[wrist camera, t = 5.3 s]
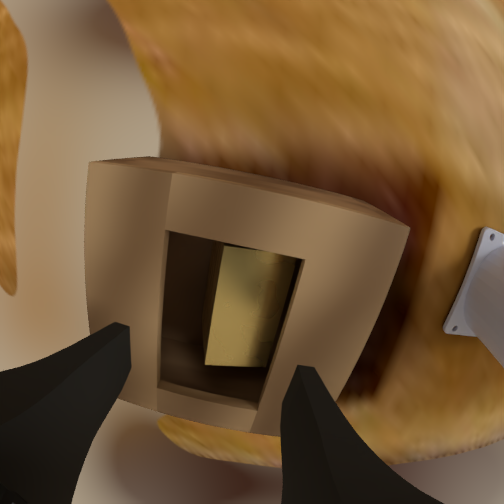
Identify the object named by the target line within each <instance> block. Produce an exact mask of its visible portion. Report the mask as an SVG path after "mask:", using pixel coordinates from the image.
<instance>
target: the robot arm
mask: <svg viewBox="0 0 504 504" xmlns="http://www.w3.org/2000/svg"><path fill="white" fill-rule="evenodd" d="M491 234H492V235H491ZM490 235H491V238H490ZM454 326H455V327H454ZM453 327H454V328H453ZM443 330H444V332H445V333H447V334H455V335H465V336H475V337H478V338H479V339H480V340H481V342H482V343H483V344H484V345H485V346H486V347H487V349H488V350H489V351H490V352H491V353H492V355H493V356H494V357H495V358H496V359H497V361H498V362H499V363H500V364H501V365H502V367H503V368H504V234H502V233H500V232H498V231H496V230H493V229H491V228H489V227H484V228H483V229H482V231H481V233H480V236H479V239H478V242H477V246H476V249H475V251H474V254H473V257H472V260H471V263H470V265H469V268H468V271H467V273H466V276H465V278H464V281H463V283H462V286H461V288H460V291H459V293H458V295H457V297H456V300H455V302H454V304H453V306H452V309H451V311H450V313H449V315H448V317H447V319H446V321H445V323H444V325H443ZM131 368H132V364H131V346H130V326H127V325H124V324H121V323H118V322H113V323H111V324H109V325H108V326H106V327H104V328H102V329H100V330H99V331H97V332H95V333H93V334H91V335H90V336H88V337H86V338H84V339H82V340H80V341H78V342H77V343H75V344H73V345H71V346H69V347H67V348H65V349H63V350H61V351H59V352H56V353H54V354H52V355H50V356H48V357H46V358H43V359H41V360H38V361H36V362H33V363H30V364H27V365H24V366H21V367H17V368H13V369H9V370H5V371H2V372H0V504H71V502H72V498H73V495H74V491H75V488H76V484H77V481H78V478H79V475H80V472H81V469H82V466H83V464H84V461H85V458H86V456H87V453H88V451H89V448H90V446H91V443H92V441H93V439H94V437H95V435H96V433H97V431H98V430H99V428H100V426H101V424H102V422H103V421H104V419H105V418H106V416H107V414H108V413H109V411H110V409H111V408H112V406H113V404H114V403H115V401H116V399H117V398H118V396H119V394H120V393H121V391H122V389H123V387H124V385H125V382H126V380H127V378H128V375H129V373H130V370H131ZM280 435H281V453H282V472H283V490H282V503H281V504H443V503H442V502H440V501H438V500H436V499H434V498H432V497H431V496H429V495H427V494H425V493H424V492H422V491H420V490H419V489H417V488H416V487H414V486H413V485H411V484H410V483H409V482H407V481H406V480H404V479H403V478H402V477H401V476H399V475H398V474H397V473H396V472H394V471H393V470H392V469H391V468H390V467H389V466H388V465H386V464H385V463H384V462H383V461H382V460H381V459H380V458H379V457H378V456H377V455H376V454H375V453H374V452H373V451H372V450H371V449H370V448H369V447H368V445H367V444H366V443H365V442H364V441H363V440H362V439H361V437H360V436H359V435H358V434H357V433H356V431H355V430H354V429H353V427H352V426H351V425H350V423H349V422H348V420H347V419H346V418H345V416H344V415H343V413H342V412H341V410H340V409H339V407H338V406H337V404H336V403H335V401H334V399H333V398H332V396H331V394H330V393H329V391H328V389H327V388H326V386H325V384H324V383H323V381H322V379H321V377H320V376H319V374H318V372H317V371H316V369H315V367H311V366H304V365H297V367H296V369H295V372H294V374H293V377H292V379H291V382H290V384H289V387H288V389H287V392H286V394H285V396H284V399H283V401H282V408H281V421H280Z"/></svg>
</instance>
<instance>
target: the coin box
mask: <svg viewBox="0 0 504 504" xmlns="http://www.w3.org/2000/svg"><path fill="white" fill-rule="evenodd" d="M85 205H86V206H85V241H84V243H85V245H84V246H85V281H86V296H87V310H88V320H89V328H90V335H91V334H93V333H95V332H97V331H99V330H100V329H102V328H104V327H106V326H108V325H109V324H111V323H113V322H118V323H121V324H124V325H127V326H130V346H131V364H132V368H131V370H130V373H129V375H128V378H127V380H126V382H125V385H124V387H123V389H122V391H121V393H120V394H119V396H118V398H119V399H121V400H124V401H127V402H130V403H133V404H136V405H139V406H142V407H145V408H148V409H151V410H154V411H158V412H161V413H164V414H168V415H171V416H175V417H179V418H183V419H186V420H190V421H194V422H199V423H203V424H207V425H212V426H217V427H222V428H227V429H232V430H237V431H243V432H249V433H256V434H263V435H270V436H278V437H281V435H280V421H281V408H282V401H283V399H284V396H285V394H286V392H287V389H288V387H289V384H290V382H291V379H292V377H293V374H294V372H295V369H296V367H297V365H304V366H311V367H315V369H316V371H317V372H318V374H319V376H320V377H321V379H322V381H323V383H324V384H325V386H326V388H327V389H328V391H329V393H330V394H331V396H332V398H333V399H334V401H335V402H336V400H337V398H338V396H339V394H340V393H341V391H342V389H343V387H344V385H345V384H346V382H347V380H348V378H349V376H350V374H351V372H352V370H353V368H354V366H355V364H356V362H357V360H358V358H359V356H360V354H361V352H362V350H363V348H364V346H365V344H366V342H367V340H368V338H369V335H370V333H371V331H372V329H373V327H374V324H375V322H376V320H377V317H378V315H379V313H380V310H381V308H382V306H383V303H384V301H385V298H386V296H387V293H388V291H389V288H390V286H391V283H392V280H393V278H394V275H395V272H396V270H397V267H398V264H399V261H400V258H401V256H402V253H403V250H404V247H405V244H406V241H407V237H408V234H409V231H410V227H408V226H406V225H405V224H403V223H401V222H400V221H398V220H396V219H395V218H393V217H391V216H390V215H388V214H386V213H385V212H383V211H381V210H379V209H378V208H376V207H374V206H372V205H370V204H369V203H367V202H365V201H363V200H360V199H356V198H352V197H349V196H345V195H341V194H338V193H334V192H330V191H326V190H322V189H318V188H314V187H310V186H306V185H302V184H297V183H293V182H289V181H284V180H280V179H275V178H271V177H266V176H261V175H256V174H252V173H247V172H242V171H236V170H231V169H226V168H220V167H215V166H209V165H203V164H197V163H191V162H185V161H178V160H171V159H165V158H157V157H150V156H149V157H134V158H124V159H112V160H103V161H93V162H89V166H88V176H87V189H86V204H85ZM213 240H216V241H221V242H226V243H230V244H235V245H240V246H245V247H249V248H254V249H259V250H263V251H268V252H273V253H277V254H282V255H287V256H291V257H296V258H297V261H296V264H295V268H294V272H293V275H292V279H291V283H290V286H289V290H288V293H287V297H286V300H285V304H284V307H283V311H282V314H281V318H280V321H279V324H278V328H277V331H276V335H275V338H274V341H273V344H272V348H271V351H270V354H269V357H268V361H267V364H266V367H243V366H220V365H205V360H204V346H203V332H202V313H203V305H204V298H205V292H206V285H207V278H208V272H209V265H210V259H211V253H212V246H213Z"/></svg>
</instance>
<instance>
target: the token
mask: <svg viewBox="0 0 504 504" xmlns="http://www.w3.org/2000/svg"><path fill="white" fill-rule="evenodd" d="M296 261H297V258H296V257H291V256H287V255H282V254H277V253H273V252H268V251H263V250H259V249H254V248H249V247H245V246H240V245H235V244H230V243H226V242H221V241H216V240H213V246H212V253H211V259H210V265H209V272H208V278H207V285H206V292H205V298H204V305H203V313H202V332H203V346H204V360H205V365H220V366H243V367H266V364H267V361H268V357H269V354H270V351H271V348H272V344H273V341H274V338H275V335H276V331H277V328H278V324H279V321H280V318H281V314H282V311H283V307H284V304H285V300H286V297H287V293H288V290H289V286H290V283H291V279H292V275H293V272H294V268H295V264H296Z"/></svg>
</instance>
